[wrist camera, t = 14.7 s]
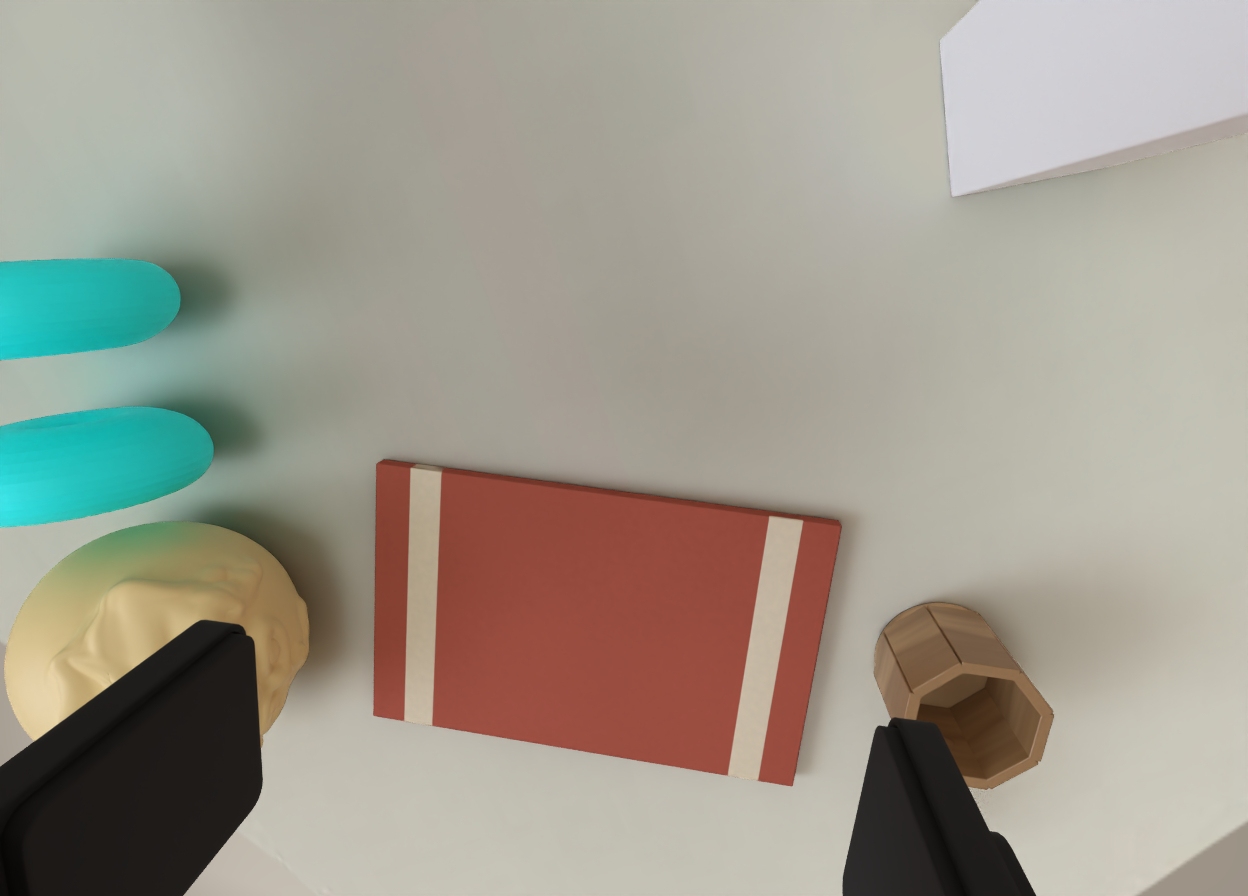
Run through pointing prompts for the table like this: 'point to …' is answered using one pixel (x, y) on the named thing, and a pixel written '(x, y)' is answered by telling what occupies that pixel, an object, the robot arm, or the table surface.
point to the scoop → (963, 691)
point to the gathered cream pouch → (149, 616)
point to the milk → (1088, 85)
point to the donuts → (102, 438)
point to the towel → (598, 618)
